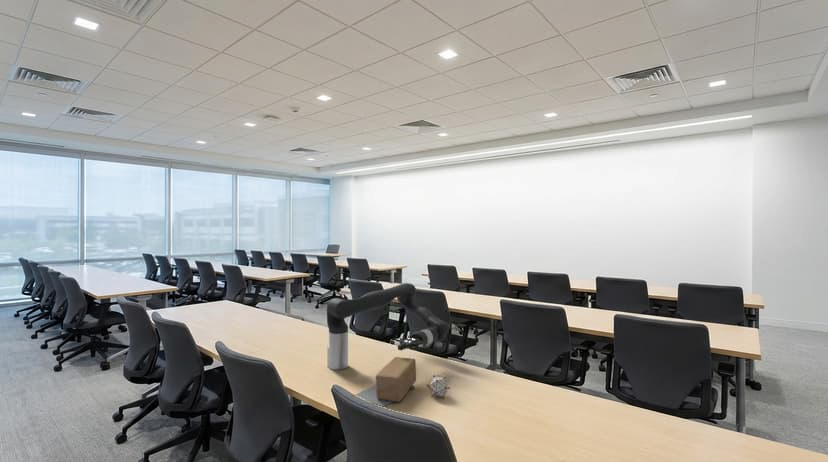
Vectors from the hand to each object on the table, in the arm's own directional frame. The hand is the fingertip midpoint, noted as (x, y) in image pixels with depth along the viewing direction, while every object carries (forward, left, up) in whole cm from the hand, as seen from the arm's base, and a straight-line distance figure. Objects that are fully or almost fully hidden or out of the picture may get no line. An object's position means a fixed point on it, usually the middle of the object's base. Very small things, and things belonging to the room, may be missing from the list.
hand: (399, 347), depth 166 cm
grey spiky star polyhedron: (+20, 0, -16) cm, 26 cm away
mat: (0, -10, -16) cm, 19 cm away
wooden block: (+2, +3, -9) cm, 10 cm away
